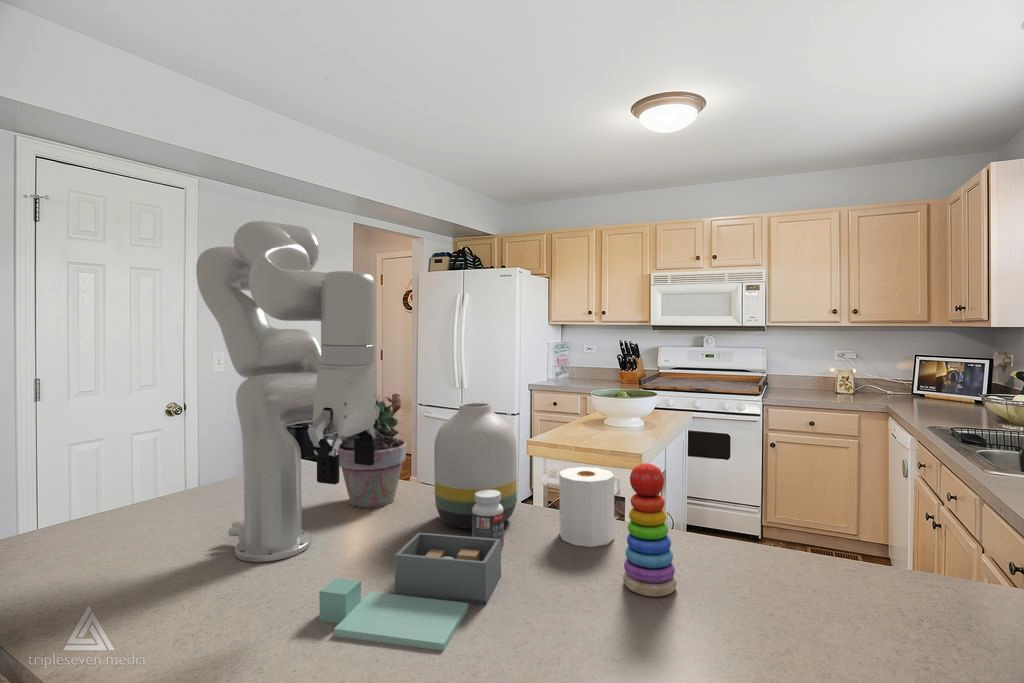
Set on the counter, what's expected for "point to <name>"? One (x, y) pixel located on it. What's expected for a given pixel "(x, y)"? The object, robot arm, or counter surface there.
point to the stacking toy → (648, 536)
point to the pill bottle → (488, 516)
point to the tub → (448, 568)
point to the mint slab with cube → (389, 616)
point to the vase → (474, 463)
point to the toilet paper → (586, 506)
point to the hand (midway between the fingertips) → (347, 473)
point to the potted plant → (375, 461)
